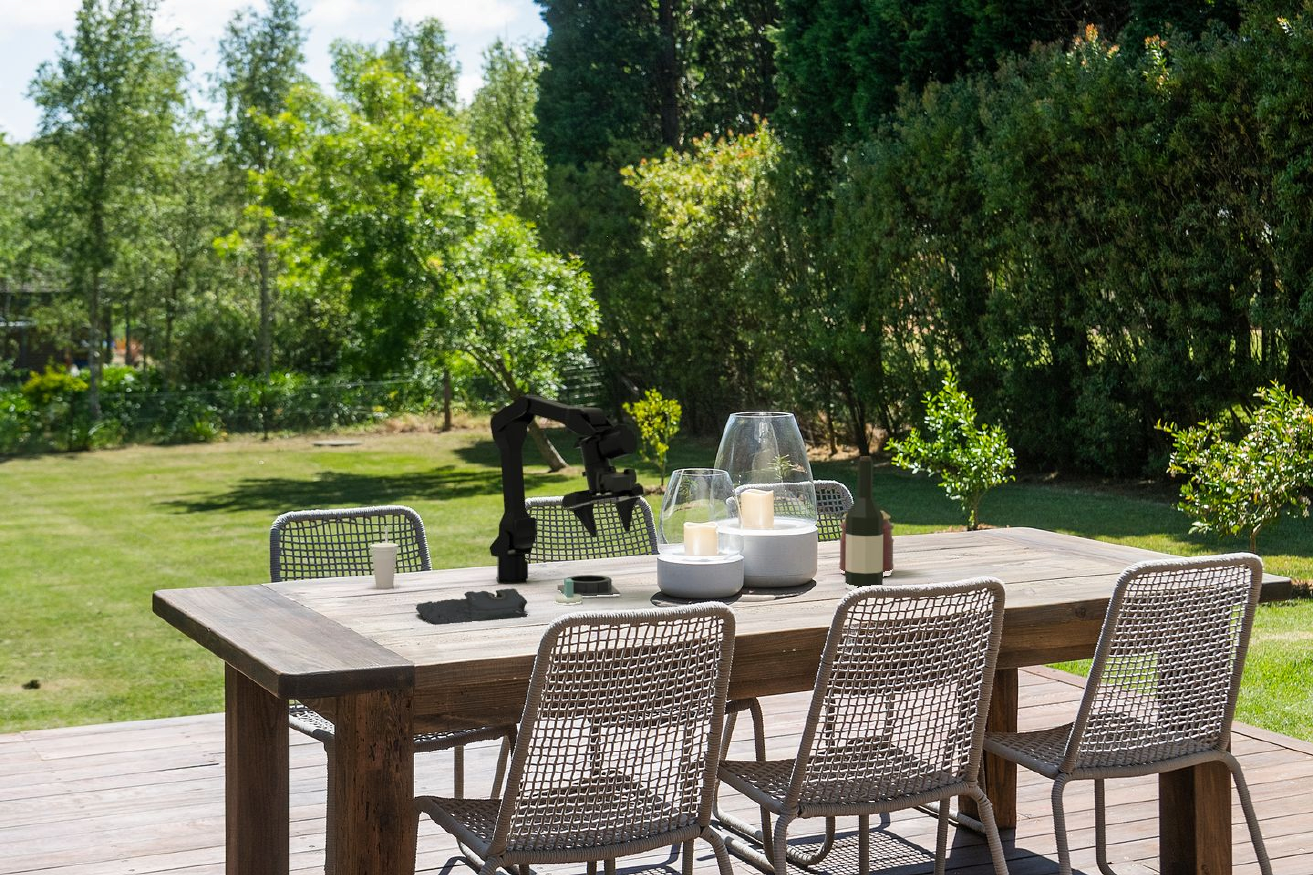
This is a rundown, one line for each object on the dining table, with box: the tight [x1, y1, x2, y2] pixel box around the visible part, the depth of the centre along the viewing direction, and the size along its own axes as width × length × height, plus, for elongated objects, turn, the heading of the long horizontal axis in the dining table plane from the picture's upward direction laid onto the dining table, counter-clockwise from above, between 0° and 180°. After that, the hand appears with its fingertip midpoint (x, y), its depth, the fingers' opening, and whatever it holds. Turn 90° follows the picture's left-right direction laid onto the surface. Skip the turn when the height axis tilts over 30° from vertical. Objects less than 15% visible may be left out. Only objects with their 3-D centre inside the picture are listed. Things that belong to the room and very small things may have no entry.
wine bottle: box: [844, 455, 884, 588], centre depth 300 cm, size 8×8×30 cm
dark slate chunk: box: [415, 587, 529, 625], centre depth 270 cm, size 15×22×5 cm
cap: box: [554, 578, 583, 604], centre depth 283 cm, size 6×6×5 cm
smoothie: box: [369, 525, 399, 590], centre depth 301 cm, size 6×6×14 cm
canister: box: [838, 509, 895, 572], centre depth 320 cm, size 13×13×18 cm
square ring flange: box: [557, 574, 621, 596], centre depth 294 cm, size 12×12×3 cm
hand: (611, 534), depth 289 cm, fingers open, 9 cm apart
